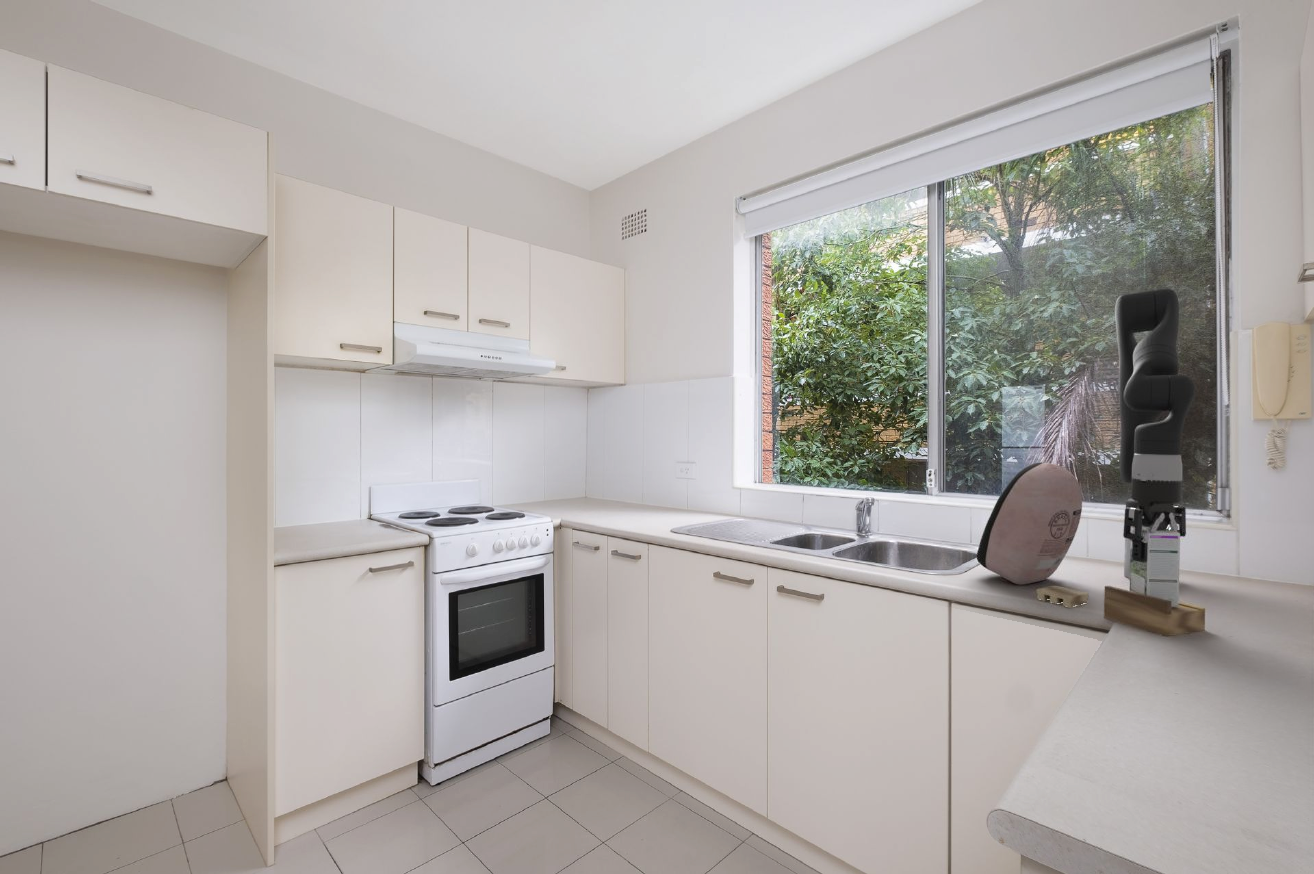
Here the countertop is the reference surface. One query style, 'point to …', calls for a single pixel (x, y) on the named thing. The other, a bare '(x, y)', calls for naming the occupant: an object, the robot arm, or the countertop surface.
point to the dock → (1152, 612)
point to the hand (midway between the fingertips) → (1154, 560)
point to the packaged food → (1032, 524)
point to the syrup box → (1158, 567)
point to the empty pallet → (1062, 596)
